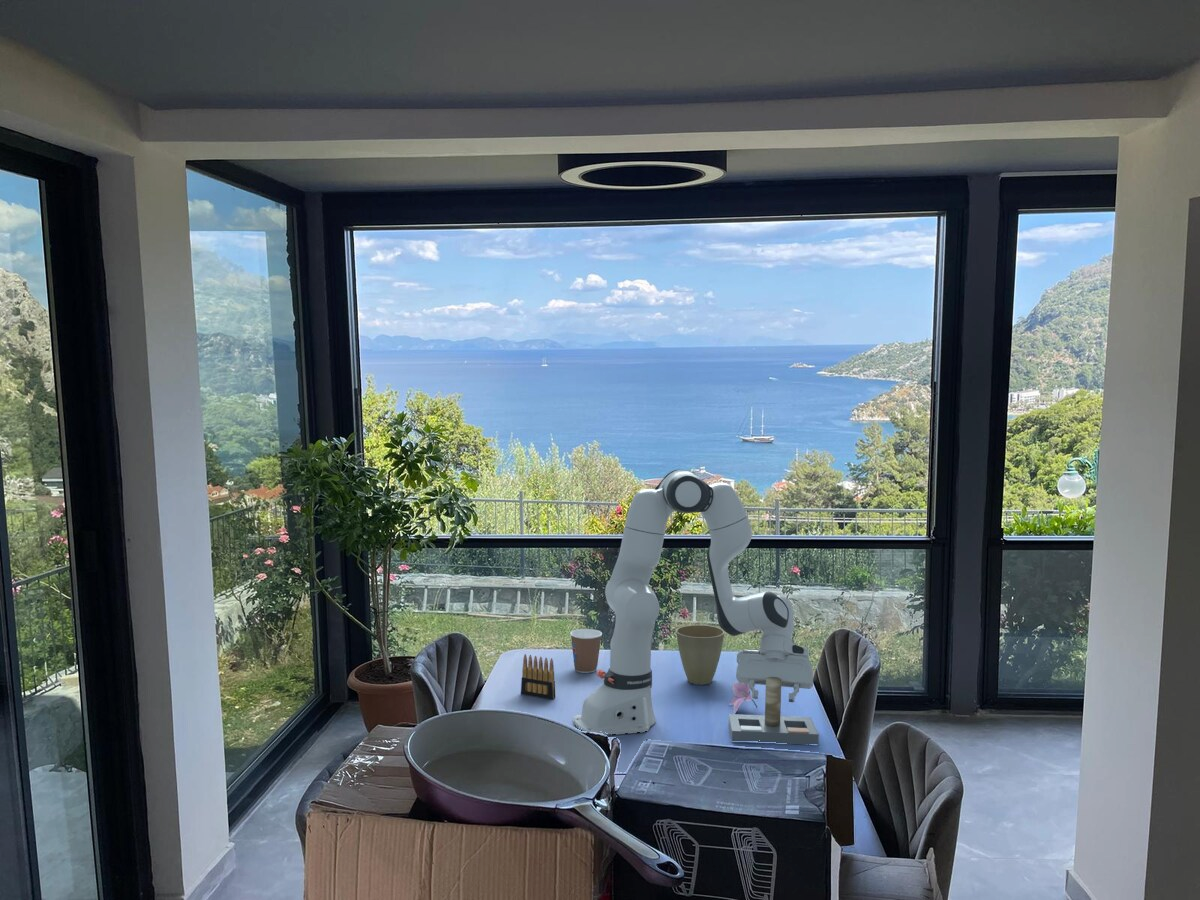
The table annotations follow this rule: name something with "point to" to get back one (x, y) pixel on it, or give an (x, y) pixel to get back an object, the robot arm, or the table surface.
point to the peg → (773, 701)
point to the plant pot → (700, 651)
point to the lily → (740, 694)
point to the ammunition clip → (538, 678)
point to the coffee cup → (586, 649)
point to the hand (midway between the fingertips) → (773, 699)
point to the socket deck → (773, 729)
